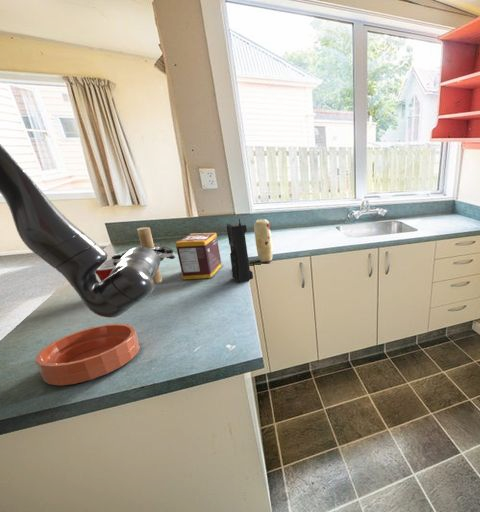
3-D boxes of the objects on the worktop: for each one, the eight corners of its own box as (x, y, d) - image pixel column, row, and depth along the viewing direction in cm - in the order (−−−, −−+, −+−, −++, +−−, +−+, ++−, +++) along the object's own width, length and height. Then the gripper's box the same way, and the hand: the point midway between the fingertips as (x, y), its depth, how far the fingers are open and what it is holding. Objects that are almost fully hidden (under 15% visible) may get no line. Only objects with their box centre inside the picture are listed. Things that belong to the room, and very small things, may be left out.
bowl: (28, 398, 60) (18, 375, 58) (62, 353, 74) (55, 334, 72) (132, 372, 67) (125, 351, 66) (145, 335, 81) (140, 318, 80)
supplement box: (222, 265, 135) (216, 232, 130) (211, 278, 121) (204, 241, 116) (197, 267, 133) (190, 233, 128) (182, 279, 119) (174, 242, 114)
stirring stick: (149, 284, 85) (136, 229, 80) (151, 280, 87) (138, 227, 82) (161, 282, 86) (148, 228, 81) (162, 279, 88) (150, 226, 84)
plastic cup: (90, 299, 101) (79, 266, 98) (118, 286, 112) (109, 256, 108) (121, 300, 101) (111, 267, 97) (146, 287, 111) (138, 257, 108)
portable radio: (231, 277, 121) (221, 217, 114) (246, 274, 125) (237, 215, 118) (238, 283, 116) (228, 220, 108) (253, 279, 120) (245, 218, 112)
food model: (277, 261, 142) (272, 220, 136) (263, 264, 137) (258, 221, 131) (268, 256, 148) (264, 217, 142) (255, 259, 144) (249, 218, 138)
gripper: (170, 247, 74) (176, 233, 88) (95, 255, 67) (116, 238, 82) (176, 275, 76) (181, 257, 91) (104, 285, 70) (123, 263, 84)
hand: (150, 248), depth 86 cm, fingers closed on stirring stick, 2 cm apart
